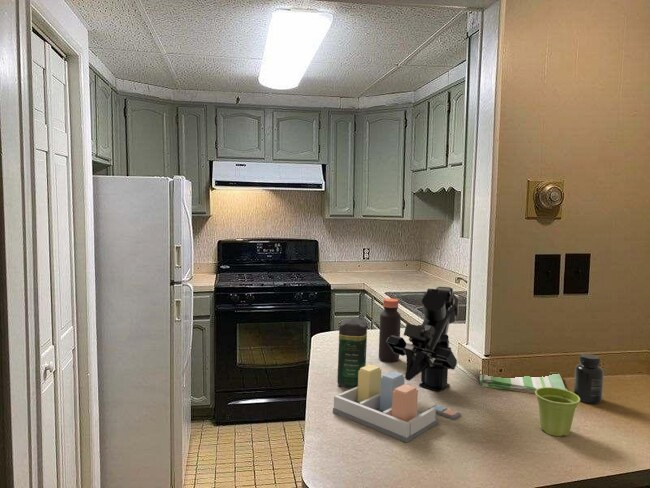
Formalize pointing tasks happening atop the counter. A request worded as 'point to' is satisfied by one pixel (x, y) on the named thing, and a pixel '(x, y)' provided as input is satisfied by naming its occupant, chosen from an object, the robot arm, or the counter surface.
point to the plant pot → (556, 410)
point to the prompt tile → (446, 412)
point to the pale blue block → (389, 388)
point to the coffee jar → (351, 351)
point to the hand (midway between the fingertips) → (407, 379)
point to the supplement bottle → (589, 379)
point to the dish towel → (522, 382)
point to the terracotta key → (405, 402)
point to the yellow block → (368, 382)
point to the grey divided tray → (382, 416)
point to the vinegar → (389, 329)
